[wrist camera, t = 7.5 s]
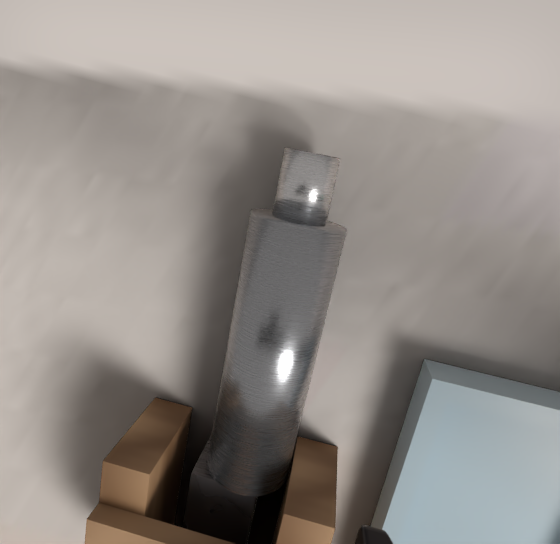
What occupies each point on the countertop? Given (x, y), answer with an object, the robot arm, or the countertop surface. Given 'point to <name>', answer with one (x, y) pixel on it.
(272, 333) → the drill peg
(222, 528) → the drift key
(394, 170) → the countertop surface
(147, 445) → the socket block
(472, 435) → the tray
